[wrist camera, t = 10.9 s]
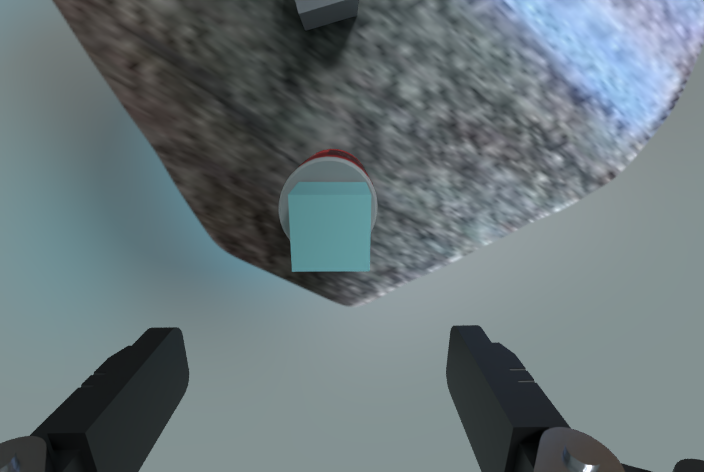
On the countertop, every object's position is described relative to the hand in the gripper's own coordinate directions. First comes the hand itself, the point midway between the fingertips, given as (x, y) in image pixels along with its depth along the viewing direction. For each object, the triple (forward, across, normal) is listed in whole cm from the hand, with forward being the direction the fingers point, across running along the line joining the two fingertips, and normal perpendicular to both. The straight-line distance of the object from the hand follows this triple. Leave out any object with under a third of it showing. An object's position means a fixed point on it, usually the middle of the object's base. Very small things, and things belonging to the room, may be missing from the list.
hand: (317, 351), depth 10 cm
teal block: (+16, 0, 0) cm, 16 cm away
